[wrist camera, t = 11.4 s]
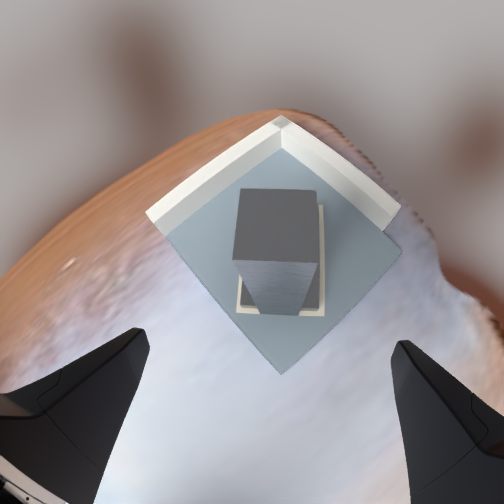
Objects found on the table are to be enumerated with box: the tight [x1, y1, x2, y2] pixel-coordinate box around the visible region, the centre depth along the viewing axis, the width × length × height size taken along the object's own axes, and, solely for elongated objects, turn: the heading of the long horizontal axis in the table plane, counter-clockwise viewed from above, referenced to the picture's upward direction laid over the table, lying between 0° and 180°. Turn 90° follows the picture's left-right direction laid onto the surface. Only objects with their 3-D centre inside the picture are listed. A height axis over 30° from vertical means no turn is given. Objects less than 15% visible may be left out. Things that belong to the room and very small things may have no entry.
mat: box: [165, 148, 403, 375], centre depth 22 cm, size 14×15×1 cm
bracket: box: [232, 188, 320, 316], centre depth 16 cm, size 9×6×12 cm, turn 175°
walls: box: [145, 115, 401, 236], centre depth 22 cm, size 16×14×3 cm
